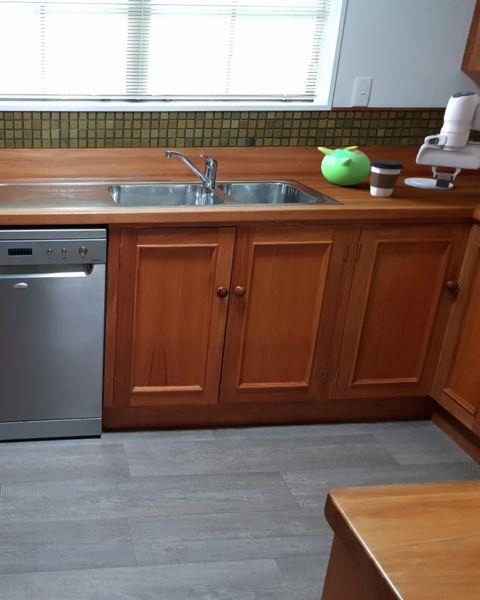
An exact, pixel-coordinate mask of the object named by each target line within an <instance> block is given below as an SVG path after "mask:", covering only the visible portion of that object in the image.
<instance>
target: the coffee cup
mask: <svg viewBox="0 0 480 600" xmlns="http://www.w3.org/2000/svg"><path fill="white" fill-rule="evenodd" d="M370 165H371V169H370V181H369V182H370V184H369V185H370V195H371V196H374V197H378V198H389V197H390V196H391V195H392V193H393V190H394V189H395V187H396V184H397V182H398V179H399V177H400V174H401V171H402V170H403V169H405V168H404V167H405V166H404V163H403V162H402V161H398V160H392V159H381V158H379V159H373V160H371V162H370Z"/></svg>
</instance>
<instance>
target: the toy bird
mask: <svg viewBox="0 0 480 600" xmlns="http://www.w3.org/2000/svg"><path fill="white" fill-rule="evenodd" d="M358 147H359V146H358V145H354V146H348V147H340V148H337V149H331V148H327V147H322V146H319V147H317V149H318V150H319V151H320V152H321V153H322V154H324V155H325V156H324V158H323V159H322V161H321V166H320V168H321V173H322V176H323V177H324V178H325V179H326V180H327V181H328V182H330V183H332V184H335V185H337V186H343V187H347V186H348V187H349V186H354V185H357V184H360V183H362V182H364V181H365V180H366V179H367V177H369V174H370V173H371V170H372V166H371V165H370V163H371V161H370V159H369V157H368V156H367V155H366V154H365V153H364V152H362V151H361V150H359V149H357V148H358Z"/></svg>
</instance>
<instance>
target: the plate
mask: <svg viewBox="0 0 480 600" xmlns="http://www.w3.org/2000/svg"><path fill="white" fill-rule="evenodd" d="M436 182H437V179H436V178H427V177H426V178H424V177H408V178H405V179H404V184H406V185H408V186H410V187H415V188H420V189H425V190H426V189H427V190H435V191H436V190H437V191H438V190H439V191H445V190H446V191H448V190H452V189H453V188H454V184H453V183H451V182H450V183H449V187H448V188H444V187H436Z"/></svg>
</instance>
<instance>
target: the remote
mask: <svg viewBox="0 0 480 600" xmlns="http://www.w3.org/2000/svg"><path fill="white" fill-rule="evenodd" d="M438 173H439V174H438V178H437V179H436V180H437V182H436V187H444V188H448V187H449V183H451V180H450V178H451V177H450V176H451V174H452V173H450V172H449V173H447V172H438Z"/></svg>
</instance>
